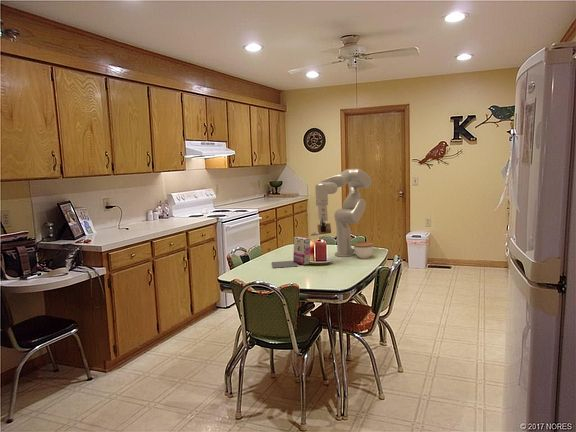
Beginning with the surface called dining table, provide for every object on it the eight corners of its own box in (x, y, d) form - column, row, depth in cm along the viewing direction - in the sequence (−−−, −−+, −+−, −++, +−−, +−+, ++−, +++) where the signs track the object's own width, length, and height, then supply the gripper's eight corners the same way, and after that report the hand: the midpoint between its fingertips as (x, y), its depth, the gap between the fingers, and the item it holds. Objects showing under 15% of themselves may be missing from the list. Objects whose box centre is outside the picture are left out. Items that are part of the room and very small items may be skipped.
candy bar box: (309, 264, 284) (310, 238, 282) (303, 265, 281) (304, 239, 279) (298, 260, 293) (299, 236, 291) (292, 261, 290) (293, 236, 288)
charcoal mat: (295, 261, 294) (295, 260, 294) (297, 266, 279) (297, 265, 279) (271, 262, 293) (271, 262, 293) (272, 268, 279) (272, 267, 279)
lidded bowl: (372, 254, 301) (372, 238, 299) (374, 259, 288) (374, 242, 287) (353, 255, 302) (353, 239, 301) (354, 259, 290) (354, 243, 288)
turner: (330, 232, 288) (329, 222, 287) (331, 233, 283) (330, 223, 282) (310, 234, 287) (309, 225, 287) (311, 235, 282) (310, 226, 282)
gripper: (329, 203, 275) (330, 233, 277) (326, 201, 291) (327, 229, 293) (317, 204, 275) (318, 234, 277) (314, 202, 291) (315, 230, 293)
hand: (323, 231), depth 285 cm, fingers closed on turner, 2 cm apart
